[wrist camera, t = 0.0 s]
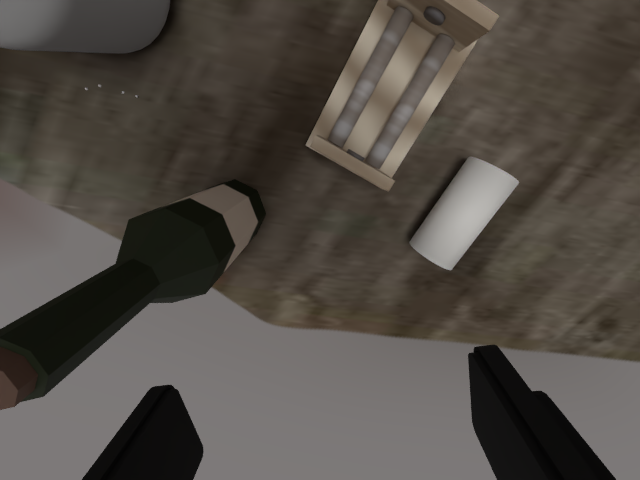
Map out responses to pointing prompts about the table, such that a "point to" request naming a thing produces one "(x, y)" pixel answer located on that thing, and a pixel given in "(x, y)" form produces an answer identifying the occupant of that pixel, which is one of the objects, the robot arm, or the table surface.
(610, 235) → the table surface
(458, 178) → the paper roll
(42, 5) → the jar
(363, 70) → the roll cradle
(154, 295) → the wine bottle
